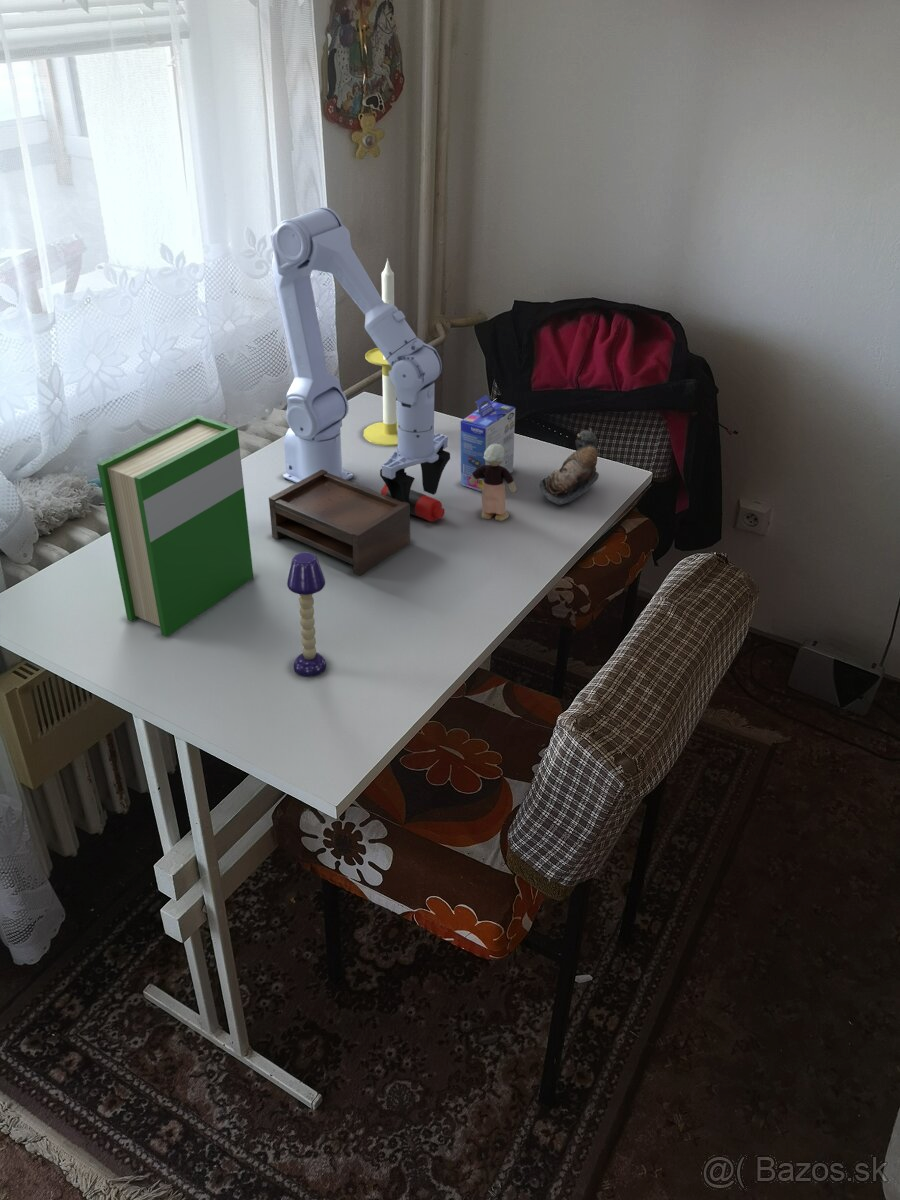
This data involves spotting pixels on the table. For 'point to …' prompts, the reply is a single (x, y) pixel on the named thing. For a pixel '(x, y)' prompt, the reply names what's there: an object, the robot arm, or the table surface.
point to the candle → (384, 380)
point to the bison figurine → (573, 472)
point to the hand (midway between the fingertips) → (415, 501)
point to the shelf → (341, 519)
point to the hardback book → (178, 521)
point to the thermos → (421, 505)
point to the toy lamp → (307, 610)
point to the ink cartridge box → (486, 438)
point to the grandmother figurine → (494, 483)
